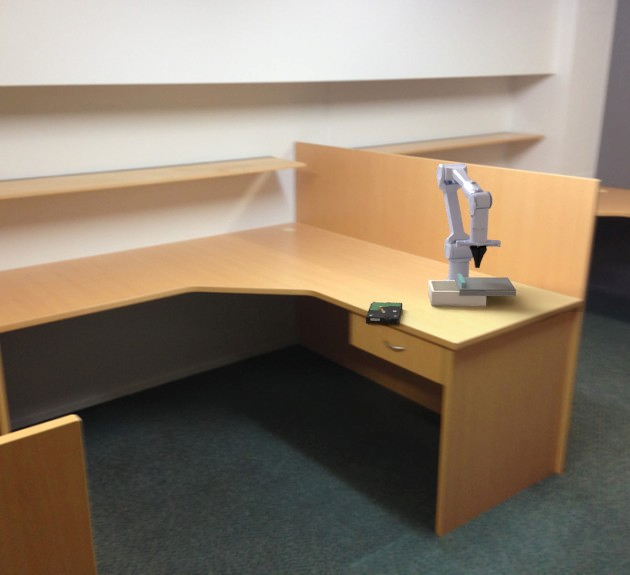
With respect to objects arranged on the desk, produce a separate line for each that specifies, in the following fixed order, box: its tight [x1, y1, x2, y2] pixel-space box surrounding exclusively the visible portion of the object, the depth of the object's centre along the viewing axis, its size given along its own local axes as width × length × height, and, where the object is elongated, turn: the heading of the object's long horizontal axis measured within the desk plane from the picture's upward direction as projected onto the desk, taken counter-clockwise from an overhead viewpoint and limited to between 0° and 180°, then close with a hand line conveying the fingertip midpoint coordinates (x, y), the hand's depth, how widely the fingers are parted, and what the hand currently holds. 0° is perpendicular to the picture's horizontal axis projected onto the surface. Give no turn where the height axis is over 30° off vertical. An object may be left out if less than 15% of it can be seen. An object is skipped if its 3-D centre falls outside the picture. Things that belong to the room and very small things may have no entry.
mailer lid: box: [454, 274, 517, 297], centre depth 233 cm, size 15×18×4 cm
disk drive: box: [365, 301, 403, 326], centre depth 222 cm, size 10×3×15 cm
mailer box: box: [427, 279, 487, 307], centre depth 235 cm, size 13×18×5 cm
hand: (477, 267), depth 235 cm, fingers closed
